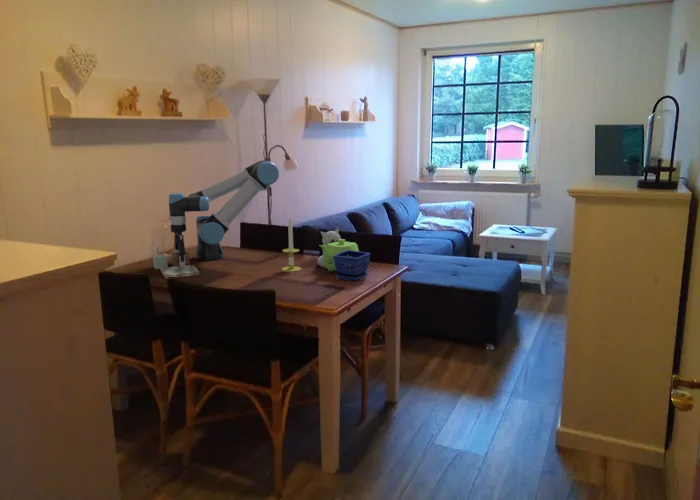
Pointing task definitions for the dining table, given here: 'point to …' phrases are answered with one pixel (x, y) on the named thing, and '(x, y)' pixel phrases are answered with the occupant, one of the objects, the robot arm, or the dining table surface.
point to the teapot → (336, 252)
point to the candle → (291, 250)
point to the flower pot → (351, 265)
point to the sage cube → (160, 261)
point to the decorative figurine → (328, 241)
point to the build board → (179, 271)
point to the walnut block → (176, 259)
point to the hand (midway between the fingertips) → (180, 264)
